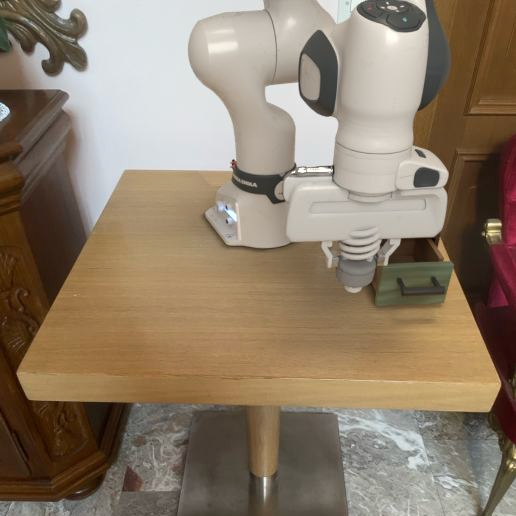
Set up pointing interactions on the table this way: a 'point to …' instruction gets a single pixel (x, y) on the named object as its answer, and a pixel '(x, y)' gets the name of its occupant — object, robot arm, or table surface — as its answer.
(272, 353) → the table surface
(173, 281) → the table surface
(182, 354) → the table surface
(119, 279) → the table surface
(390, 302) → the drawer
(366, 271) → the light bulb
